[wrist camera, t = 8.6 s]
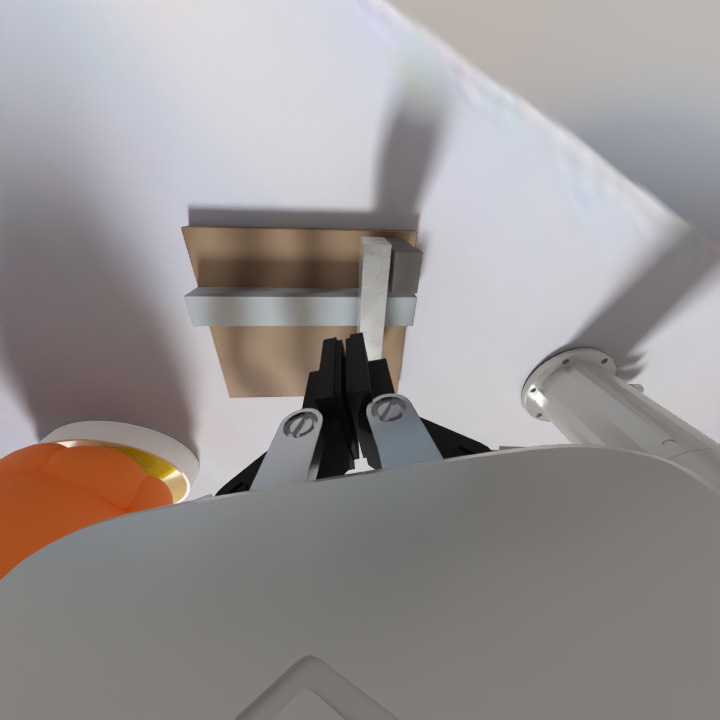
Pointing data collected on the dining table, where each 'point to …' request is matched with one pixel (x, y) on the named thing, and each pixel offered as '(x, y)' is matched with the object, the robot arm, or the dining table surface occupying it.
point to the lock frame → (291, 299)
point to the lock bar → (373, 292)
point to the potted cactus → (86, 482)
